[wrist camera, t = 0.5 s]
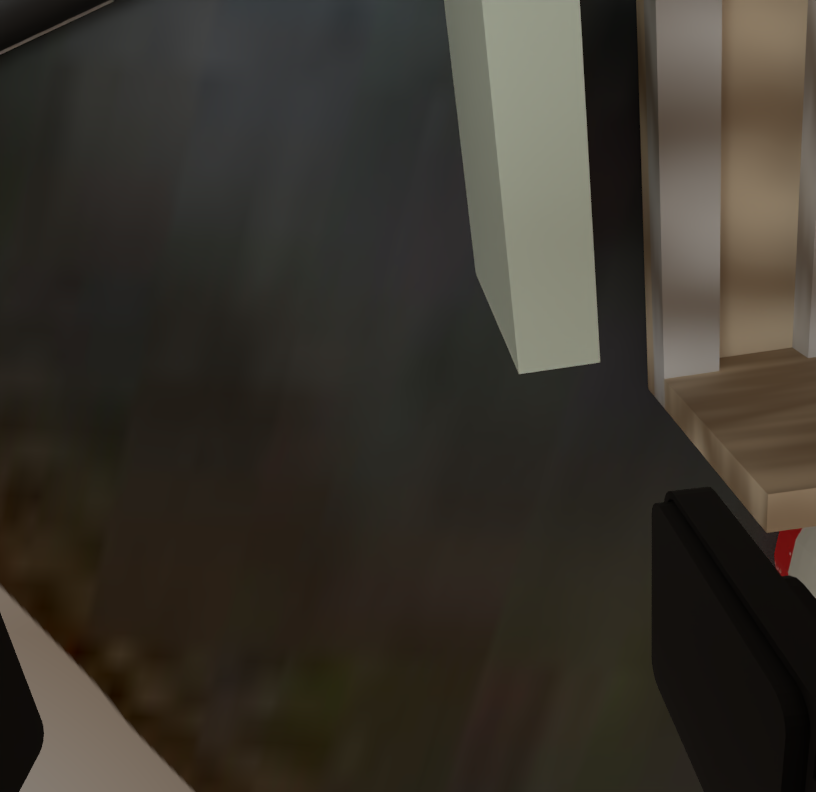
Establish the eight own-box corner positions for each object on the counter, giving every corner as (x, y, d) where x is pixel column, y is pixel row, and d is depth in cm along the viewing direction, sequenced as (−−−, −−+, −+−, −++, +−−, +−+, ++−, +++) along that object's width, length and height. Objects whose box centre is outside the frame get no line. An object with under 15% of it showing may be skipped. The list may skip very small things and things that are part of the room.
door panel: (442, -17, 31) (474, -72, 19) (518, -29, 31) (598, -92, 19) (475, 273, 36) (518, 374, 24) (542, 263, 36) (619, 359, 24)
